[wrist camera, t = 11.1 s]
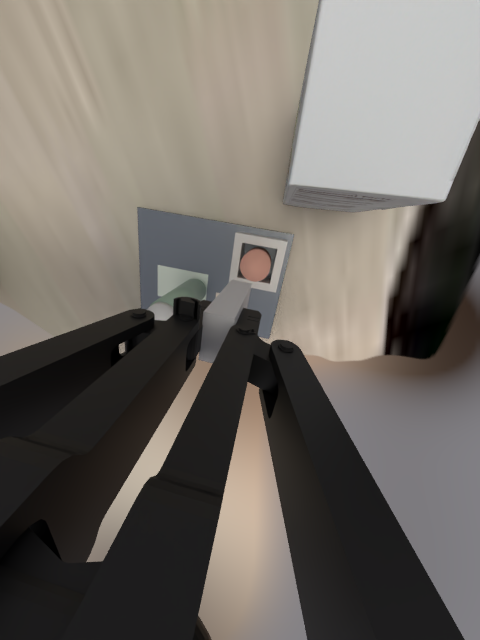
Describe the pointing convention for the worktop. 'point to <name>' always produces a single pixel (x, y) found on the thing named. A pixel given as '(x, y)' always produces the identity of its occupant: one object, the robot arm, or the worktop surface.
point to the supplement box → (385, 104)
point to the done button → (255, 264)
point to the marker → (165, 303)
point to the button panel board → (208, 258)
